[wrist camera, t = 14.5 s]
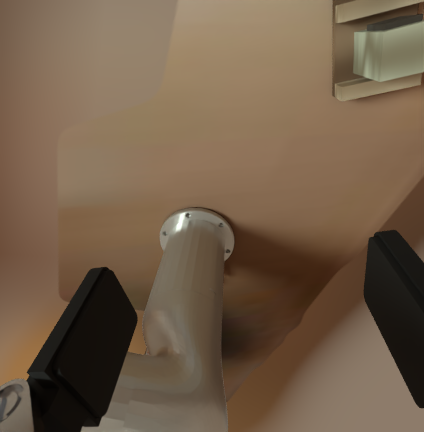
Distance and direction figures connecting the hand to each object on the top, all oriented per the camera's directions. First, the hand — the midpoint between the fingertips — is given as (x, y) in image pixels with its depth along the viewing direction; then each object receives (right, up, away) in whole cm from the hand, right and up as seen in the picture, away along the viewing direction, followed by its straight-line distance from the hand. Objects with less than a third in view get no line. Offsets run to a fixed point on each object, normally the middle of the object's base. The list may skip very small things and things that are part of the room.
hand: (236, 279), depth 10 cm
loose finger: (+17, +21, +20) cm, 33 cm away
